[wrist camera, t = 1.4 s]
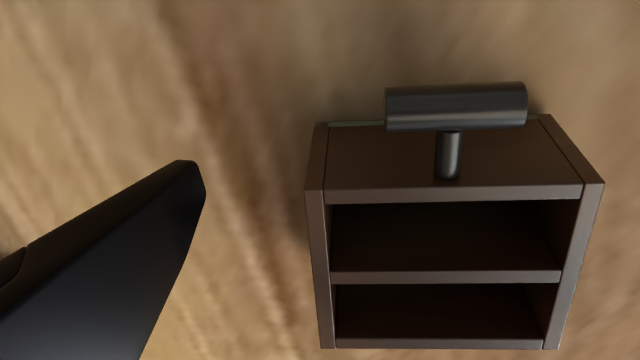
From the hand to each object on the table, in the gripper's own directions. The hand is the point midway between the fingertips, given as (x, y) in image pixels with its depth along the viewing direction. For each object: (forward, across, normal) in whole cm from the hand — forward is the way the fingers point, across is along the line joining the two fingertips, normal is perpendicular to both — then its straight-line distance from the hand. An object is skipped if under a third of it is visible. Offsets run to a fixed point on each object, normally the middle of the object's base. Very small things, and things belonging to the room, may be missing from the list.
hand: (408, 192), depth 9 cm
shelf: (+14, 0, +11) cm, 18 cm away
